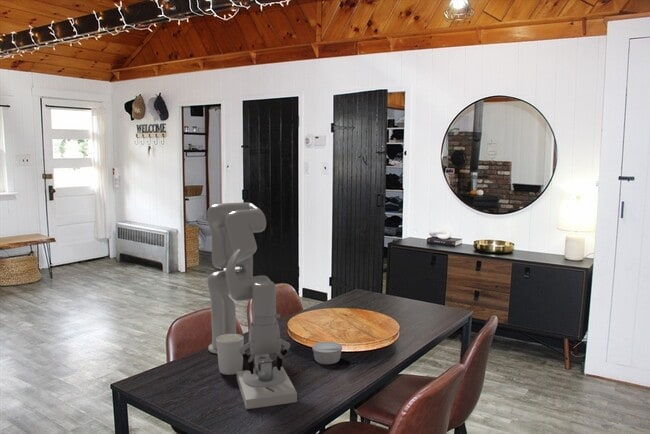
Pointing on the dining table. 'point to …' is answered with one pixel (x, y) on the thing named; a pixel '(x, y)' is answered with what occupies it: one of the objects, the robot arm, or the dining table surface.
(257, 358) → the disc
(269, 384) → the scale
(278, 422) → the dining table surface
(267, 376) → the cylinder
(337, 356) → the ramekin
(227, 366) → the candle holder
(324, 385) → the dining table surface
